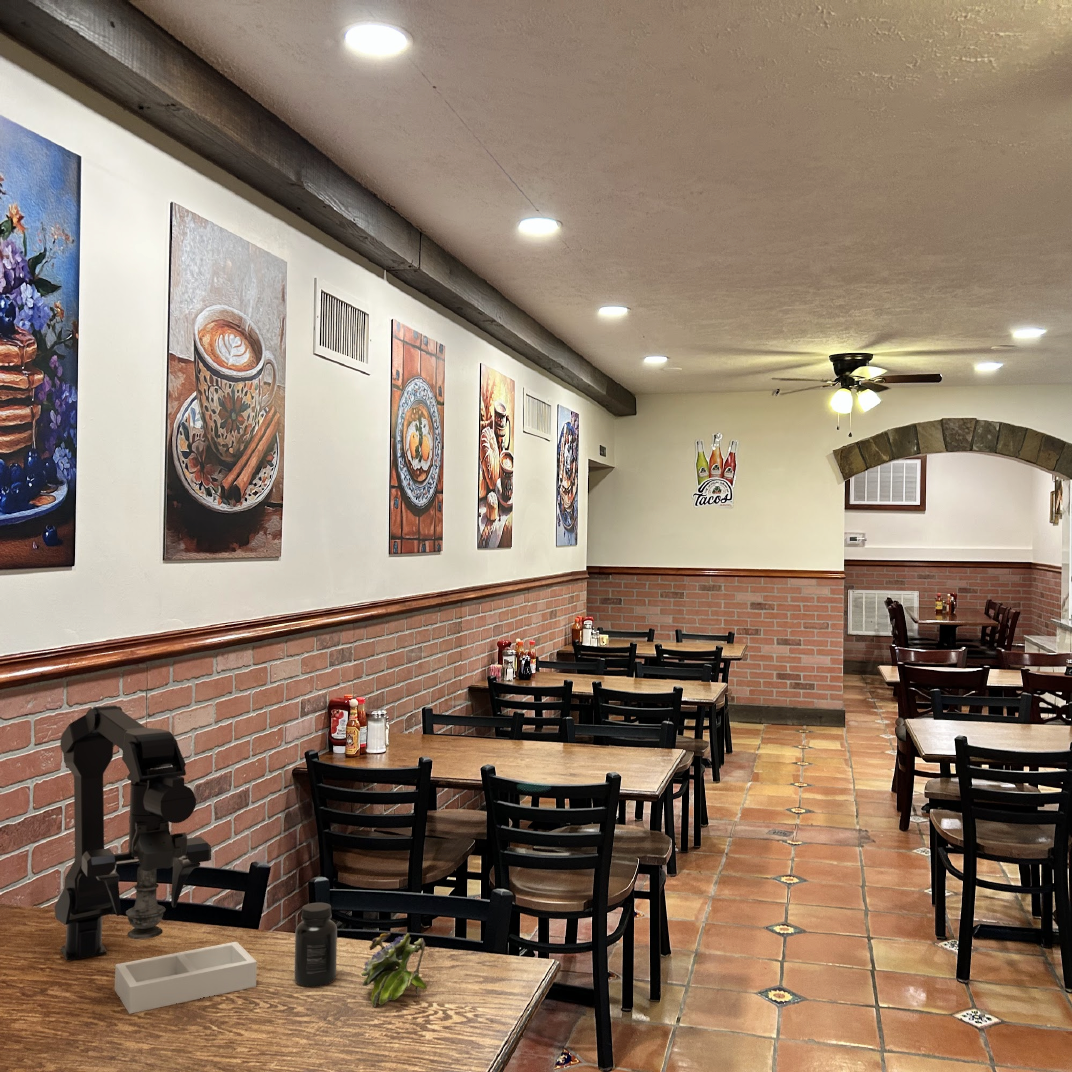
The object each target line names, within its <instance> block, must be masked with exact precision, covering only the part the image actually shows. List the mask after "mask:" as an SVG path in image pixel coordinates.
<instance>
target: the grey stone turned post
mask: <svg viewBox="0 0 1072 1072" xmlns="http://www.w3.org/2000/svg"><path fill="white" fill-rule="evenodd" d="M157 870H158V869H153V870H152V871H143V870H142V869H141V867H140V864H139V865H138V867H137V869H136V871H137V873H136V877H137V878H136V885H135V886H134V887H133V888H134V890H135V891H136V893H135V902H134V906H132V907H131V908H128V910H126V911H125V915H126V916H127V920H128V923H129V925H130V926H131V927H133V928H132V929H131V930H130V931H129V932H127V938H129V939H132V940H146V939H148V940H149V939H153V938H156V937H159V936H161V935H162V934H163V932H164V930H163V929H162V928H161V927H159V926H158V925H159V923H160V922H161V921H162V919H163V916H164V913H165V912H166V908H165V906H163V905H160V904H158V900H157V888H159V887H160V886H159V884H158V883H157Z"/></svg>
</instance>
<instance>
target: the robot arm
mask: <svg viewBox="0 0 1072 1072" xmlns="http://www.w3.org/2000/svg"><path fill="white" fill-rule="evenodd" d="M59 744H60V749H61V752H62V754H63V762H64V764H65V765H66V767H67V768H68V769H69V771H70V772H71V774H72V775H73V785H74V786H73V787H74V788H73V793H74V795H73V796H74V798H73V800H74V802H73V805H74V815H73V816H74V861H73V863H72V865H71V866H70V868H69V870H68V872H67V873H66V875H65V878H64V886H63V887H64V889H63V890H62V891H61V894H60V896H59V897H58V900H57V901H56V903H55V905H54V917H55V919H56V920H57V921H59V923H61V924H63V925H64V926H66V930H65V931H66V932H65V933H66V935H65V938H66V939H65V945H62V946H60V950H61V953H62V954H63V957H64V958H65V960H66V961H73V960H80V959H84V958H85V959H86V958H89V957H95V956H100V955H106V954H107V949H106V946H104V944H103V943H102V936H103V935H102V934H103V917H104V916H110V915H111V916H112V915H114V914H115V915H116V916H117V917H119V916H121V899H120V898H121V897H120V887H119V885H120V883H119V882H120V875H119V874H118V872H117V870H116V869H117V867H120V866H126V865H127V866H128V865H134V864H139V865H140V867H141V869H142V870H143V871H152V870H153V869H157V870H158V869H164V870H166V869H167V870H168V869H171V868H172V877H171V878H172V880H171V893H170V896H171V897H170V899H171V906H172V908H176V907H177V905H178V903H179V899H180V895H181V893H182V891H183V888H184V885H185V883H186V881H187V879H188V876H190V874H191V873H192V871H193V870H194V869H196V868H199V867H200V866H201V863H204V862H210V861H211V860H212V845H211V844H210V843H209V842H207V841H206V840H205V839H204V838H203V837H202V836H196V837H188V835H187V832H177V833H173V834H172V833H171V832H170V831H171V830H170V824H169V823H172V824H179V823H182V822H185V821H186V820H187V819H189V817H191V816H192V815H193V813H194V811H195V808H196V805H197V797H196V795H195V793H194V791H193V789H192V788H190V787H189V786H187V785H185V777H184V776H186V775H187V771H186V768H185V767H186V766H187V764H186V761H185V759H184V756H183V754H182V752H181V750H180V747H179V744H178V741H177V739H176V738H175V736H174V734H173V733H172V732H171V731H169V730H166V729H161V728H151V727H146V726H144V725H143V724H141V723H140V722H138V720H135V719H134V718H133V717H131V716H130V715H128V714H127V713H126V712H124V711H123V708H122V707H121V706H117V705H116V704H114V705H113V704H112V705H102V706H93V708H89V709H88V710H87V711H86V713H85V714H84V715H82V716H80V717H79V718H77V719H76V720H74V721H72V722H70V723H69V724H68V725H67V727H66V728H65V730H64V731H63V733H62V734H61V737H60V743H59ZM115 746H116V747H118V748H119V749H120V750H121V751H122V757H121V760H122V761H123V762H124V764H125V765H126V766H125V767H126V768H127V769H128V770H127V771H129V773H128V774H127V776H126V779H127V780H128V781H130V792H129V793H130V794H129V795H130V796H129V798H130V800H129V816H128V823H129V825H128V826H129V827H128V828H129V829H128V830H129V832H128V843H127V844H128V845H127V846H128V847H127V849H128V851H127V852H120V853H114V852H113V851H112V850H111V849H110V847H107V848H105V810H104V809H105V808H104V805H105V804H104V801H105V800H104V796H105V795H104V794H105V793H104V774H105V772H106V770H107V769H108V767H109V765H110V763H111V762H112V760H113V758H114V747H115Z"/></svg>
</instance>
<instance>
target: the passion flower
mask: <svg viewBox="0 0 1072 1072" xmlns="http://www.w3.org/2000/svg"><path fill="white" fill-rule="evenodd" d="M390 936H391V932H388V933H387V932H386V933H381V934H380V936H378V937H374V938H373V939H372V941H371V944H369V946H368V948H369V950H370V951H372V950H375V949H376V948H377V947H378V946H379V947H380V949H379V950H377V952H376V953H374V954H372V955H371V958H369V959H367V961H365V963H364V968H363V969H362V972H361V976H362V977H365V979H364V980H363V982H362V986H363V987H367V986H368V985H370V984H371V983H372V985H373V987H372V993H371V994H370V996H371V997H370V999H371V1000H370V1001H371V1004H372V1005H373V1007H374V1008H376V1007H377V1001H378V1004H379V1005H381V1006H383V1005H384V1004H386V1003H387V1002H388V1001H390V1000H391V1001H395V1000H397V999H398V998H399V997H400V996H402V995H403V993H404V992H405V990H407V988H408V989H410V988H411V987H412V984H413V985H414V986H415V995H416V994H418V995H419V989H422V990H427V985H426V982H424V980H423V979H422V977H421V976H420V966H421V964H422V958H423V955H424V952H425V949H426V944H427V943H426V942H425V940H424V938H423V937H422V938H418V940H417V941H415V942H414V943H413V944H414V945H411V944H410V941H411V939H412V937H410V933H408V932H407V933H406V934H403V935H402V936H398V937H396V938H394V940H393V942H390V943H389V944H388V945H385V946H384V945H383V942H384V941H385V940H387V939H388V938H389V937H390ZM420 950H421V952H420ZM419 952H420V956H419V959H418V962H417V966H416V969H415V970H414V972H412V971H410V970H408V967H407V966H408V962H409V960H410V958H411V956H412V954H413V953H419ZM378 999H379V1000H378Z"/></svg>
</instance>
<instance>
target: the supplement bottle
mask: <svg viewBox="0 0 1072 1072" xmlns="http://www.w3.org/2000/svg"><path fill="white" fill-rule="evenodd" d="M300 918H301V922H300V923H298V925H297V926H296V928H295V933H294V937H295V938H294V970H293V971H294V972H293V973H294V980H295V982H296V984H297V985H300V986H301V987H307V988H316V987H323V986H326V985H329V984H331V983H332V982H334V980H335V979H336V977H337V955H338V953H337V951H338V950H337V949H338V948H337V947H338V943H337V942H338V927H337V924H336V923H335V922H334V921H333V920H331V919H332V906H331V904H330V903H326V902H312V903H307V904H305V905H303V906H302V908H301V916H300Z"/></svg>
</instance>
